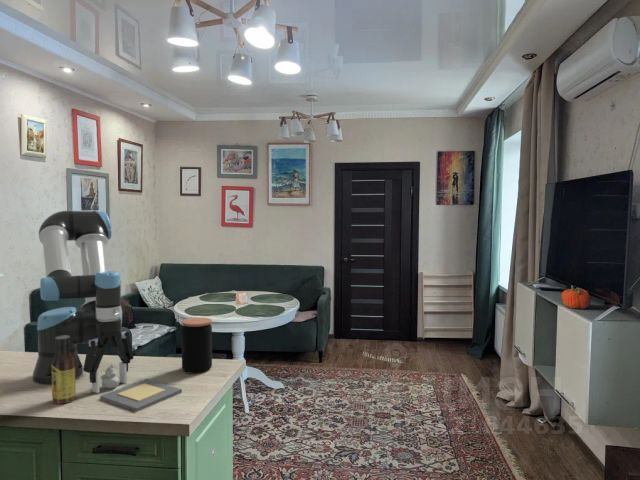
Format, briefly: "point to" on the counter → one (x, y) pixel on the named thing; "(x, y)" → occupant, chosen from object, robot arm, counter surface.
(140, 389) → the board
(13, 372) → the counter surface
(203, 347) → the coffee jar
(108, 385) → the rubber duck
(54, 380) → the sauce bottle
